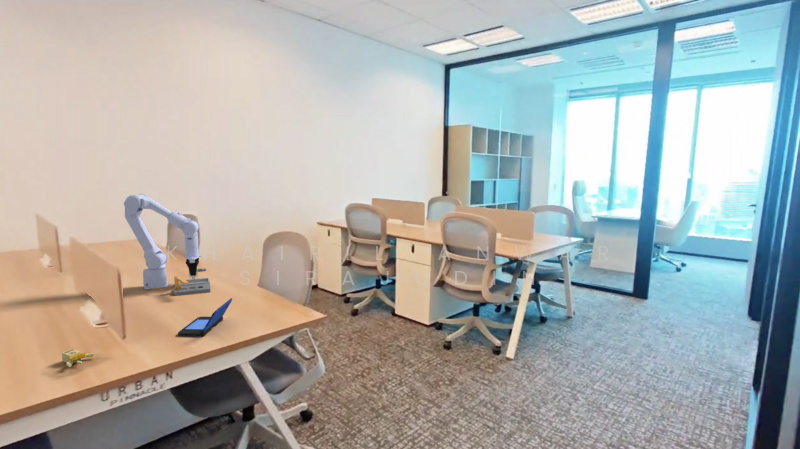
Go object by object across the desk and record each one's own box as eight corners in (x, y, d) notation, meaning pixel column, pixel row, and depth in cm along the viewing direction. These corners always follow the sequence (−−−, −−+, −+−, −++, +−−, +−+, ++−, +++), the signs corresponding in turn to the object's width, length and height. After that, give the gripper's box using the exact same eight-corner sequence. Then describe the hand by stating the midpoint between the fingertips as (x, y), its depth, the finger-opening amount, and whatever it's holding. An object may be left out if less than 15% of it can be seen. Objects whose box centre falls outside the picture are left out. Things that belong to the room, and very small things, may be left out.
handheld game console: (199, 319, 154) (197, 296, 153) (234, 320, 154) (233, 297, 153) (176, 337, 139) (174, 311, 137) (215, 338, 139) (214, 311, 137)
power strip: (173, 296, 179) (173, 292, 179) (175, 291, 187) (174, 286, 187) (210, 293, 185) (210, 288, 185) (210, 287, 193) (209, 283, 193)
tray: (176, 289, 190) (176, 285, 190) (177, 284, 197) (177, 280, 197) (209, 285, 196) (209, 281, 196) (209, 281, 203) (209, 277, 203)
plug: (189, 280, 194) (188, 267, 193) (189, 278, 197) (188, 266, 196) (206, 278, 197) (205, 266, 196) (206, 276, 200) (205, 264, 199)
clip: (174, 288, 183) (173, 276, 182) (180, 287, 185) (179, 275, 184) (184, 295, 174) (183, 282, 173) (190, 294, 176) (189, 281, 175)
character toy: (69, 360, 114) (51, 355, 117) (70, 371, 114) (53, 365, 117) (99, 348, 121) (82, 344, 124) (100, 359, 122) (83, 354, 125)
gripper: (201, 248, 189) (202, 277, 191) (201, 243, 202) (202, 270, 204) (183, 250, 186) (185, 278, 188) (185, 244, 199) (186, 271, 201)
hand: (193, 274), depth 196 cm, fingers closed on plug, 4 cm apart
